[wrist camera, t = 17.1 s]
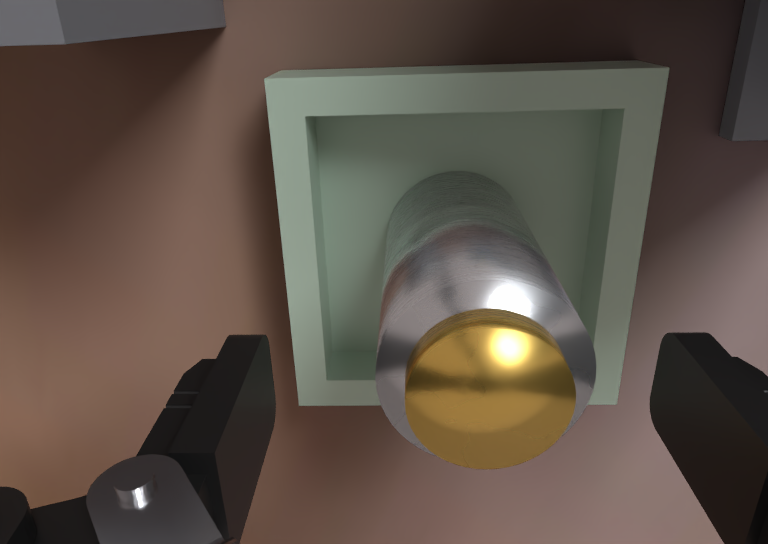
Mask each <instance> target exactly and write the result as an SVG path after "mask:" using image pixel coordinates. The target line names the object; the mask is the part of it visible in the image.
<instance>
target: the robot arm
mask: <svg viewBox="0 0 768 544" xmlns="http://www.w3.org/2000/svg"><path fill="white" fill-rule="evenodd" d="M275 412H276V400H275V390H274V382H273V373H272V365H271V356H270V348H269V342H268V338H267V336H266V335H229V336H228V337H227V339H226V341H225V343H224V345H223V346H222V348H221V350H220V352H219V354H218V356H217V358H216V359H202V360H201V361H199V362H198V363H197V364H196V365H194V366H193V367H192V368H191V369H189V370H188V371H187V372H185V373H184V374H183V376H182V378H181V379H180V381H179V383H178V385H177V386H176V388H175V390H174V394H172V395H171V397H170V398H169V400H168V402H167V404H166V408H164V409H163V411H162V412H161V414H160V416H159V417H158V419H157V421H156V423H155V424H154V426H153V428H152V430H151V431H150V433H149V435H148V436H147V438H146V440H145V442H144V443H143V445H142V447H141V449H140V450H139V452H138V454H137V456H136V457H132V458H129V459H126V460H124V461H121V462H119V463H117V464H115V465H114V466H112V467H110V468H109V469H107V470H106V471H105V472H103V473H102V474H101V475H100V476H99V477H98V478H97V479H96V480H95V481H94V482H93V484H92V485H91V487H90V489H89V490H88V493H87V495H86V496H83V497H79V498H76V499H72V500H67V501H63V502H59V503H55V504H50V505H46V506H42V507H38V508H34V509H30V507H29V504H28V501H27V499H26V497H25V495H24V494H23V493H22V492H21V491H19V490H17V489H15V488H10V487H0V544H240V540H241V536H242V533H243V529H244V526H245V523H246V519H247V516H248V512H249V509H250V506H251V502H252V499H253V496H254V492H255V489H256V485H257V482H258V479H259V475H260V472H261V468H262V465H263V462H264V458H265V455H266V451H267V448H268V445H269V441H270V438H271V434H272V431H273V427H274V422H275ZM650 413H651V418H652V422H653V425H654V427H655V429H656V431H657V432H658V434H659V436H660V437H661V439H662V441H663V442H664V444H665V446H666V447H667V449H668V451H669V452H670V454H671V456H672V457H673V459H674V461H675V462H676V464H677V466H678V467H679V469H680V471H681V472H682V474H683V476H684V477H685V479H686V481H687V482H688V484H689V486H690V487H691V489H692V491H693V492H694V494H695V496H696V497H697V499H698V501H699V502H700V504H701V506H702V507H703V509H704V511H705V512H706V514H707V516H708V517H709V519H710V521H711V522H712V524H713V526H714V527H715V529H716V531H717V532H718V534H719V536H720V537H721V539H722V541H723V542H724V544H768V377H767V376H766V375H765V374H764V373H763V372H762V371H760V370H759V369H757V368H755V367H754V366H752V365H750V364H749V363H747V362H745V361H743V360H742V359H740V358H738V357H731V356H730V354H729V353H728V352H727V351H726V350H725V349H724V348H723V347H722V346H721V345H720V344H719V343H718V342H717V341H716V340H715V338H714V337H713V336H712V335H710V334H709V333H705V332H703V333H667V334H665V336H664V337H663V339H662V341H661V345H660V350H659V355H658V360H657V365H656V370H655V375H654V380H653V385H652V390H651V395H650Z"/></svg>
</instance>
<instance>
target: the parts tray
mask: <svg viewBox="0 0 768 544" xmlns="http://www.w3.org/2000/svg"><path fill="white" fill-rule="evenodd" d="M669 68H670V67H665V66H661V65H656V64H652V63H647V62H643V61H639V60H631V61H595V62H560V63H524V64H489V65H453V66H418V67H382V68H347V69H311V70H281V71H279V72H277V73H275V74H273V75H271V76H269V77H267V78H265V79H264V81H265V91H266V100H267V109H268V119H269V128H270V138H271V147H272V156H273V166H274V175H275V185H276V194H277V203H278V213H279V222H280V232H281V241H282V250H283V260H284V269H285V278H286V288H287V297H288V307H289V316H290V325H291V335H292V344H293V354H294V363H295V372H296V382H297V391H298V401H299V406H377V405H381V404H380V401H379V398H378V394H377V390H376V381H375V374H376V358H377V346H378V334H379V322H380V311H381V299H382V287H383V275H384V263H385V251H386V239H387V229H388V223H389V220H390V217H391V214H392V212H393V210H394V208H395V206H396V204H397V203H398V201H399V200H400V198H401V197H402V196H403V195H404V194H405V193H406V192H407V191H408V190H409V189H410V188H411V187H412V186H414V185H415V184H417V183H418V182H420V181H421V180H423V179H425V178H427V177H429V176H432V175H435V174H438V173H443V172H449V171H467V172H472V173H477V174H480V175H483V176H485V177H487V178H489V179H492V180H493V181H495V182H496V183H498V184H499V185H500V186H502V187H503V188H504V189H505V190H506V191H507V192H508V193H509V194H510V196H511V197H512V198H513V200H514V201H515V203H516V204H517V206H518V208H519V210H520V212H521V213H522V215H523V217H524V219H525V221H526V222H527V224H528V226H529V228H530V230H531V231H532V233H533V235H534V237H535V238H536V240H537V242H538V244H539V246H540V247H541V249H542V251H543V253H544V255H545V256H546V258H547V260H548V262H549V264H550V265H551V267H552V269H553V271H554V272H555V274H556V276H557V278H558V280H559V281H560V283H561V285H562V287H563V289H564V290H565V292H566V294H567V296H568V298H569V299H570V301H571V303H572V305H573V306H574V308H575V310H576V312H577V314H578V315H579V317H580V319H581V321H582V323H583V324H584V326H585V328H586V330H587V332H588V334H589V336H590V338H591V341H592V344H593V347H594V351H595V357H596V380H595V384H594V389H593V392H592V395H591V397H590V400H589V402H588V404H587V405H617V400H618V394H619V387H620V381H621V375H622V368H623V362H624V355H625V349H626V343H627V336H628V330H629V324H630V317H631V311H632V304H633V298H634V292H635V285H636V279H637V273H638V266H639V260H640V253H641V247H642V241H643V234H644V228H645V221H646V215H647V209H648V202H649V196H650V190H651V183H652V177H653V170H654V164H655V158H656V151H657V145H658V138H659V132H660V126H661V119H662V113H663V107H664V100H665V94H666V87H667V81H668V75H669Z"/></svg>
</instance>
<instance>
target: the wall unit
mask: <svg viewBox="0 0 768 544" xmlns="http://www.w3.org/2000/svg"><path fill="white" fill-rule="evenodd" d="M719 136H721V137H723V138H726V139H728V140H730V141H758V140H768V0H745V5H744V10H743V15H742V20H741V25H740V31H739V36H738V41H737V46H736V51H735V56H734V61H733V66H732V71H731V76H730V81H729V86H728V91H727V96H726V102H725V107H724V112H723V117H722V122H721V127H720V132H719Z"/></svg>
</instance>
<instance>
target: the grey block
mask: <svg viewBox="0 0 768 544" xmlns="http://www.w3.org/2000/svg"><path fill="white" fill-rule="evenodd" d="M220 27H226V22H225V14H224V6H223V0H0V46H21V45H55V44H72V43H81V42H90V41H100V40H109V39H118V38H127V37H137V36H146V35H155V34H164V33H174V32H183V31H192V30H201V29H211V28H220Z"/></svg>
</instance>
